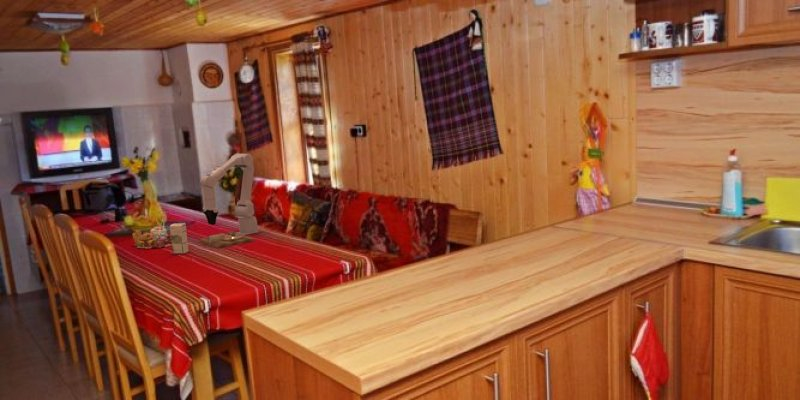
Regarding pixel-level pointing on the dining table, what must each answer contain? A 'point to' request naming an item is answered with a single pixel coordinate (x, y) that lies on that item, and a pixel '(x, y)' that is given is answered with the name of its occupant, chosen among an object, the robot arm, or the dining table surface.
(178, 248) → the syrup box
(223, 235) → the lever handle
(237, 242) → the base board
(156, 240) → the candy landscape model
